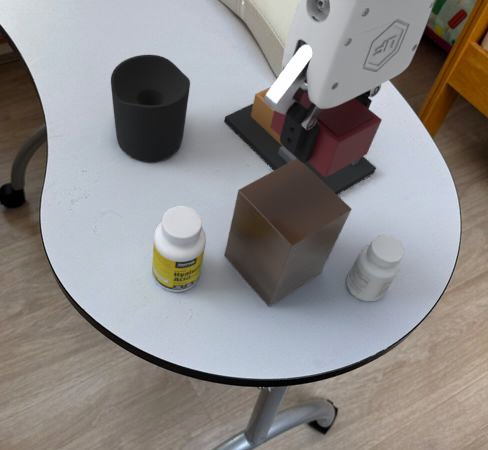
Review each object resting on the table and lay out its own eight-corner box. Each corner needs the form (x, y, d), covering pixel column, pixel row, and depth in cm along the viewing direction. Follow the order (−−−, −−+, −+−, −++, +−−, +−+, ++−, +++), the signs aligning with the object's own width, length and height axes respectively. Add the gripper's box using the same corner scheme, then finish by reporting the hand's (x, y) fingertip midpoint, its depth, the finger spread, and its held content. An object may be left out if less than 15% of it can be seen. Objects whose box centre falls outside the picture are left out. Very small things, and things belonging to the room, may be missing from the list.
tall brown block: (321, 272, 67) (352, 208, 57) (268, 307, 64) (291, 246, 54) (276, 225, 71) (297, 157, 61) (223, 255, 67) (237, 189, 58)
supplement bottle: (172, 302, 63) (176, 253, 56) (142, 268, 66) (142, 215, 58) (210, 276, 66) (219, 225, 58) (180, 244, 68) (185, 191, 60)
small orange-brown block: (311, 133, 79) (319, 110, 75) (284, 148, 77) (290, 125, 74) (278, 103, 82) (283, 79, 79) (250, 116, 80) (255, 92, 77)
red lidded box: (367, 154, 50) (383, 118, 47) (325, 178, 48) (338, 142, 45) (311, 107, 53) (322, 69, 50) (269, 127, 51) (278, 90, 48)
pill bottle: (384, 273, 68) (408, 234, 61) (384, 306, 65) (410, 269, 59) (346, 265, 68) (366, 226, 62) (344, 298, 65) (366, 260, 59)
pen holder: (188, 118, 80) (193, 59, 72) (181, 169, 75) (185, 111, 67) (120, 110, 80) (118, 50, 72) (108, 161, 75) (104, 102, 67)
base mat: (374, 173, 77) (379, 161, 75) (313, 209, 72) (317, 198, 71) (283, 93, 85) (287, 81, 83) (224, 121, 80) (226, 109, 79)
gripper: (333, -5, 31) (272, 210, 45) (523, -81, 37) (417, 127, 52) (243, -68, 34) (213, 150, 49) (432, -128, 41) (356, 80, 55)
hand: (319, 137), depth 50 cm, fingers closed on red lidded box, 5 cm apart
